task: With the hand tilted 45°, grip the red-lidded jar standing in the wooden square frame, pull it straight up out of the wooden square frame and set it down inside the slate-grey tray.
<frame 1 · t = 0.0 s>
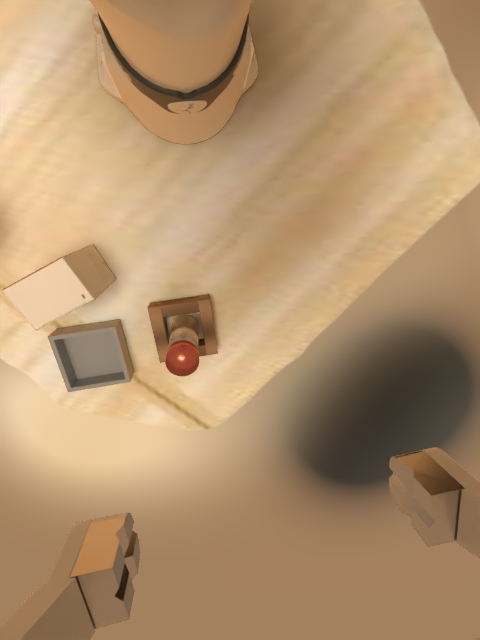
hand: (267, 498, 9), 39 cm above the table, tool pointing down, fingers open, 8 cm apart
red-lidded jar: (183, 341, 42), in the wooden square frame
small box: (81, 274, 43), on the table
wooden square frame: (184, 325, 48), on the table
tray: (97, 350, 47), on the table
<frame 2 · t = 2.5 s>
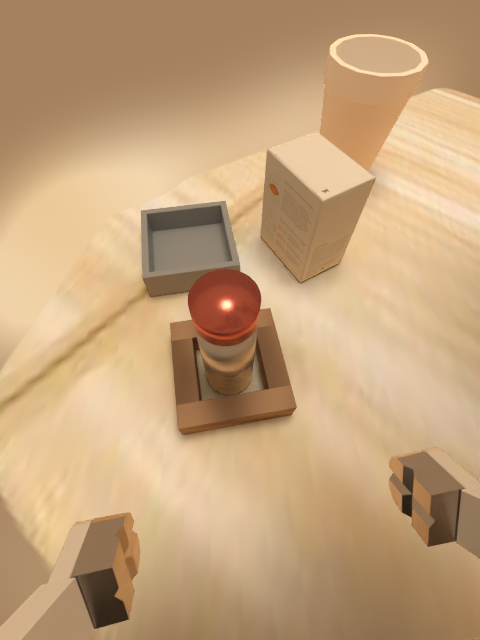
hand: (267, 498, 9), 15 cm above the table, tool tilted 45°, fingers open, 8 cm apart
red-lidded jar: (227, 344, 22), in the wooden square frame
small box: (298, 251, 34), on the table
foam cup: (338, 176, 41), on the table
wooden square frame: (229, 372, 27), on the table
tray: (191, 256, 34), on the table
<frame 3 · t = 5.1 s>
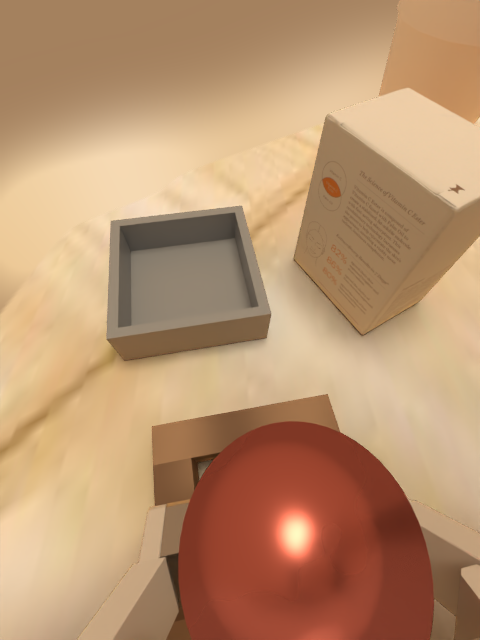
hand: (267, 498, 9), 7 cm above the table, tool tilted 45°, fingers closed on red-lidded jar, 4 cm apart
red-lidded jar: (268, 520, 10), in the wooden square frame, touching gripper
small box: (351, 281, 23), on the table
foam cup: (395, 170, 29), on the table
wooden square frame: (257, 510, 15), on the table
tray: (190, 291, 22), on the table
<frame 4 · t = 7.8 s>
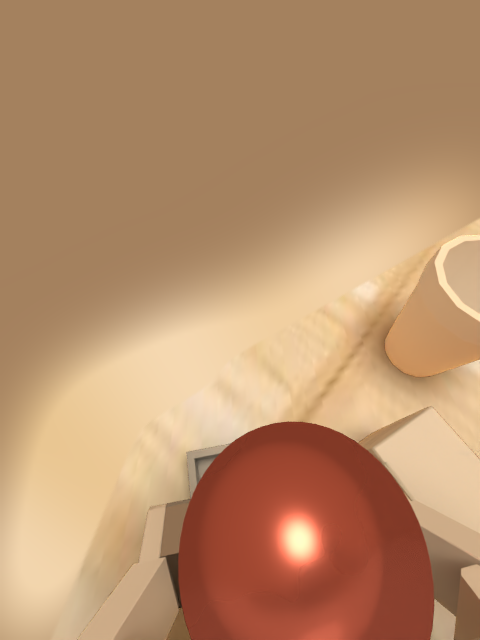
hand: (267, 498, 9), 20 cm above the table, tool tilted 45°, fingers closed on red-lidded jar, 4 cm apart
red-lidded jar: (269, 520, 10), point 19 cm above the table, touching gripper
small box: (379, 486, 28), on the table
foam cup: (412, 351, 34), on the table
tray: (248, 501, 27), on the table
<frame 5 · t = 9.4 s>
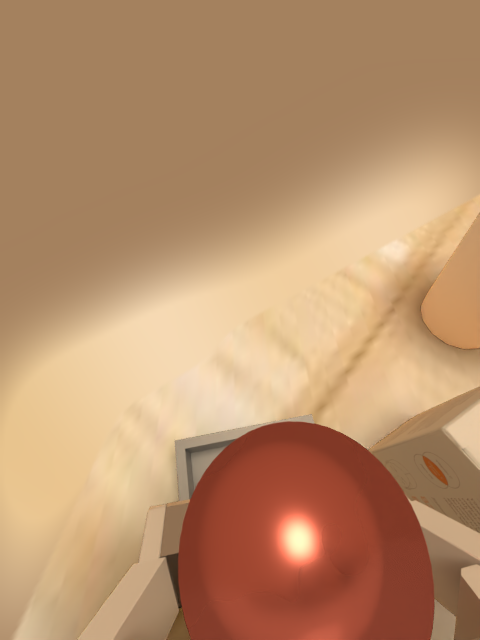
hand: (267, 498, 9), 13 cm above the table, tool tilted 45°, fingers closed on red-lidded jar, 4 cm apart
red-lidded jar: (268, 520, 10), point 12 cm above the table, touching gripper
small box: (426, 485, 21), on the table
foam cup: (455, 318, 28), on the table
tray: (256, 505, 21), on the table
when the fingers open (9 cm above the table, at t = 10.8 s): red-lidded jar stays where it is, resting on tray.
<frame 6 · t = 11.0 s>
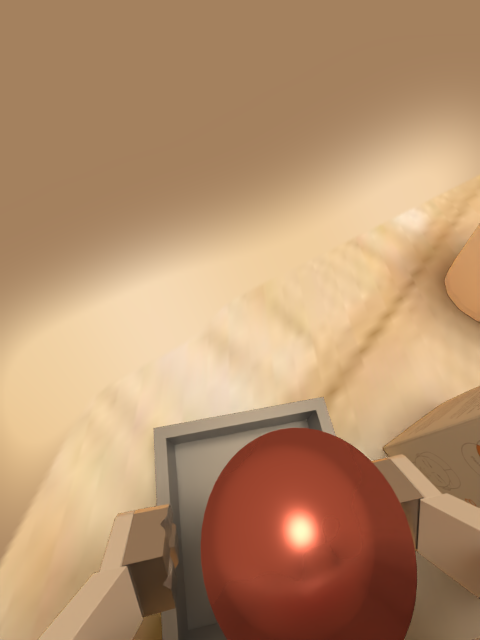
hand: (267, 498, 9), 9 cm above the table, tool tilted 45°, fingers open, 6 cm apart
red-lidded jar: (269, 517, 11), in the tray, point 7 cm above the table
small box: (461, 484, 18), on the table
tray: (255, 509, 17), on the table
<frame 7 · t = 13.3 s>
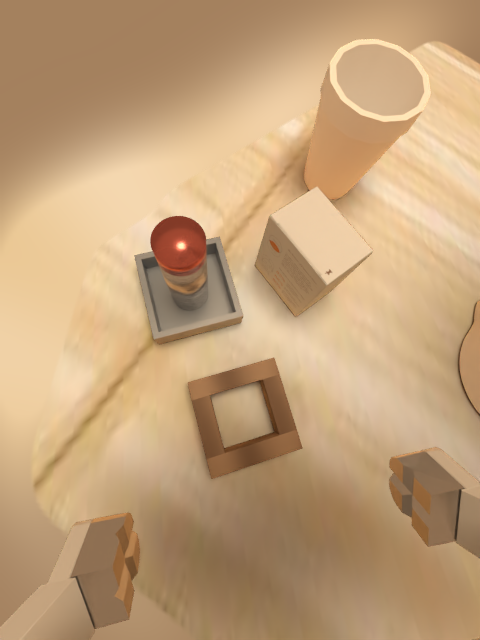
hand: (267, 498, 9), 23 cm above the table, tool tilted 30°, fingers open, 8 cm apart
red-lidded jar: (185, 272, 28), in the tray, point 7 cm above the table
small box: (291, 279, 36), on the table
foam cup: (326, 179, 40), on the table
wooden square frame: (242, 413, 32), on the table
tray: (190, 294, 34), on the table
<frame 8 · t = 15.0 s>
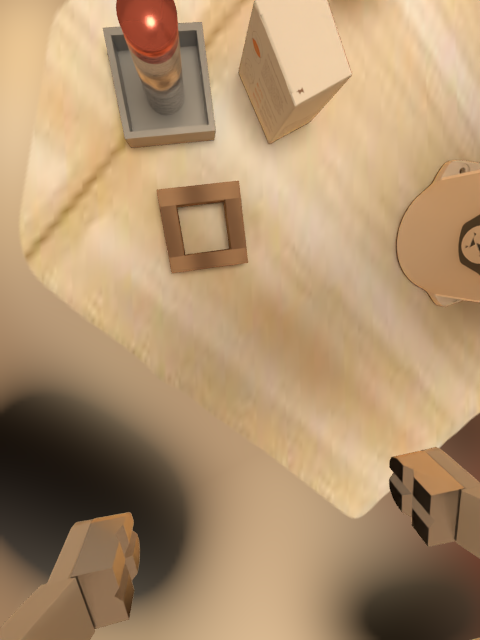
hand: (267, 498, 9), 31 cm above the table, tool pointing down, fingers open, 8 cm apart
red-lidded jar: (158, 62, 26), in the tray, point 7 cm above the table
small box: (274, 98, 34), on the table
wooden square frame: (204, 228, 37), on the table
tray: (165, 96, 33), on the table
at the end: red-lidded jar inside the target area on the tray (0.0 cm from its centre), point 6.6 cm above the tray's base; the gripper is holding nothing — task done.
